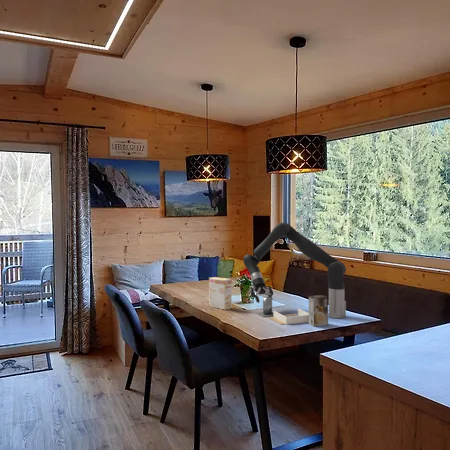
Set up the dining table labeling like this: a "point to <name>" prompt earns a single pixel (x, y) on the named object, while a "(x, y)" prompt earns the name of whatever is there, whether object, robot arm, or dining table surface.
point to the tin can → (267, 305)
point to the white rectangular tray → (293, 319)
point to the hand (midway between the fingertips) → (265, 301)
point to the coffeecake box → (220, 293)
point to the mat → (265, 315)
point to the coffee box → (318, 310)
